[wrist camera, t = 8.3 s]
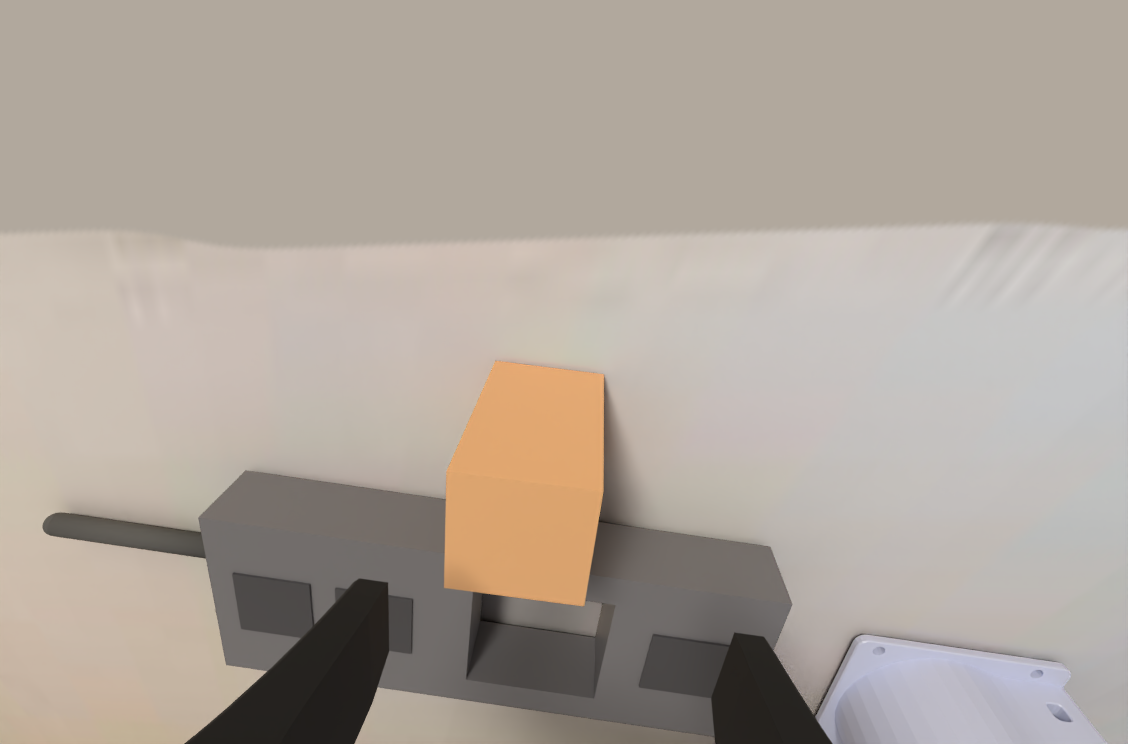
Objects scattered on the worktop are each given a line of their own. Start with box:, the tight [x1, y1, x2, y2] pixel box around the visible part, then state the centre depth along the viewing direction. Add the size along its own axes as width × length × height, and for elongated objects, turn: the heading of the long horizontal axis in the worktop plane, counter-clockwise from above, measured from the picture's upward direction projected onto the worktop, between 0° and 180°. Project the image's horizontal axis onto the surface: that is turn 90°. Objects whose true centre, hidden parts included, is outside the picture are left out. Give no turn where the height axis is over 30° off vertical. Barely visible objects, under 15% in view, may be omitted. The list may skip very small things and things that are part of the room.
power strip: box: [43, 471, 792, 737], centre depth 24 cm, size 31×8×3 cm, turn 83°
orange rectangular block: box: [444, 361, 604, 606], centre depth 18 cm, size 4×4×7 cm
